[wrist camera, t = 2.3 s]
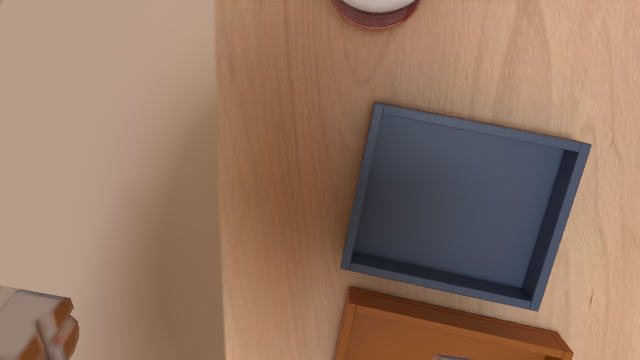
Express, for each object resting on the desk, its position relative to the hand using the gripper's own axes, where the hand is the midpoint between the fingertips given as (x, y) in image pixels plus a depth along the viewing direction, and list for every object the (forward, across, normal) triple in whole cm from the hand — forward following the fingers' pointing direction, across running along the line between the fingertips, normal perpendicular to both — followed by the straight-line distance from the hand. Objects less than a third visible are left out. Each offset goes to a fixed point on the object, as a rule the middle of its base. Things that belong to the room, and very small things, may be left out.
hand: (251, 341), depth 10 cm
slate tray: (+20, -10, +8) cm, 24 cm away
